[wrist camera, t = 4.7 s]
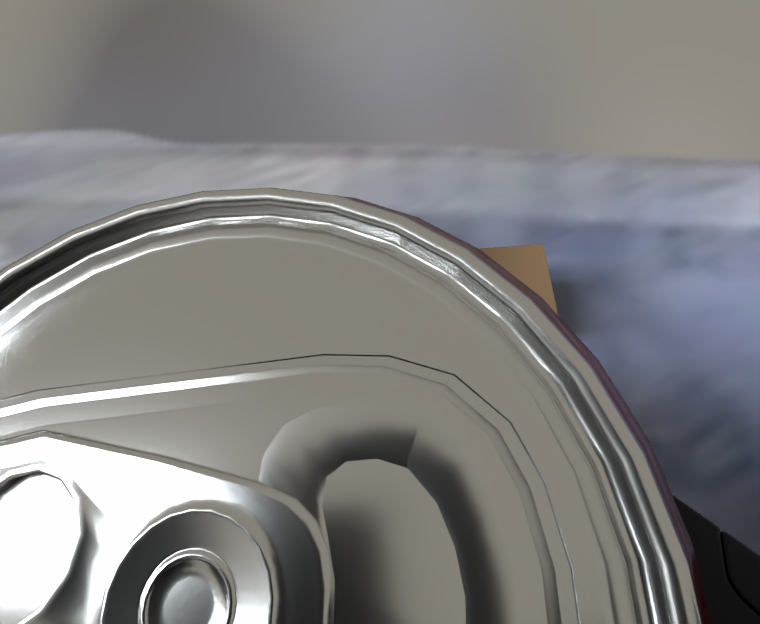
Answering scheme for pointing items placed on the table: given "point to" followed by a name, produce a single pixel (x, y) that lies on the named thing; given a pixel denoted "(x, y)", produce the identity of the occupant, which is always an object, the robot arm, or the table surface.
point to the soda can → (314, 431)
